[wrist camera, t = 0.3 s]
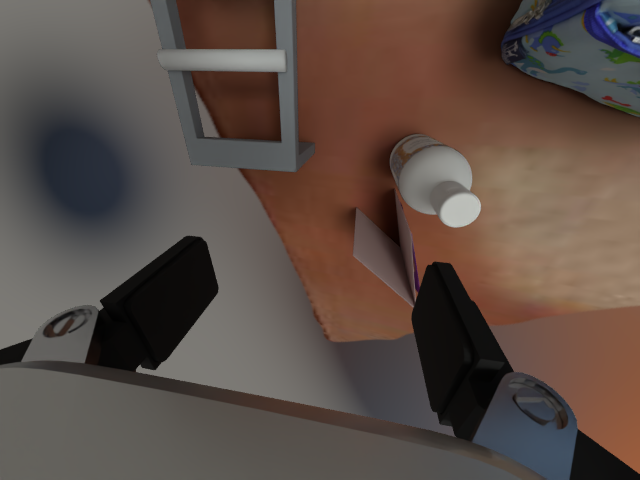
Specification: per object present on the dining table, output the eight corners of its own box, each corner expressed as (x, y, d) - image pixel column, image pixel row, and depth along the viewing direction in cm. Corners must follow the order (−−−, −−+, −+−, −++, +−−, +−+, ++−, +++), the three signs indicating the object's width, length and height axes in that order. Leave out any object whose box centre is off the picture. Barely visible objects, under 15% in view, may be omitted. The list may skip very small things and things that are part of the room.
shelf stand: (211, -27, 28) (105, -119, 17) (317, -32, 26) (281, -136, 15) (237, 148, 38) (182, 167, 27) (314, 153, 37) (292, 175, 25)
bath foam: (437, 127, 32) (518, 153, 15) (439, 175, 35) (509, 242, 18) (385, 141, 34) (408, 178, 17) (392, 186, 37) (416, 255, 20)
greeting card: (405, 247, 43) (423, 309, 30) (364, 252, 44) (364, 312, 32) (400, 187, 37) (419, 231, 25) (354, 195, 39) (349, 240, 26)
